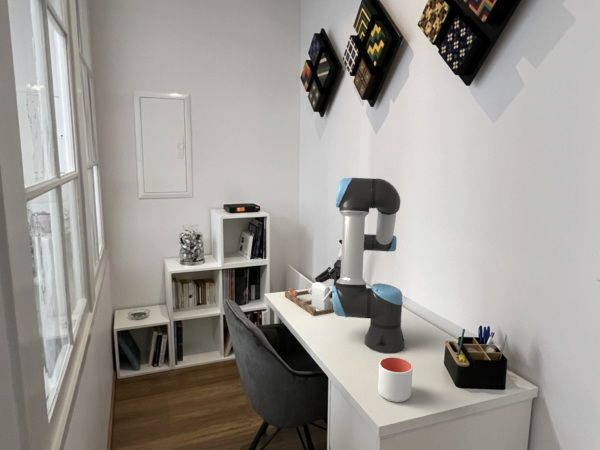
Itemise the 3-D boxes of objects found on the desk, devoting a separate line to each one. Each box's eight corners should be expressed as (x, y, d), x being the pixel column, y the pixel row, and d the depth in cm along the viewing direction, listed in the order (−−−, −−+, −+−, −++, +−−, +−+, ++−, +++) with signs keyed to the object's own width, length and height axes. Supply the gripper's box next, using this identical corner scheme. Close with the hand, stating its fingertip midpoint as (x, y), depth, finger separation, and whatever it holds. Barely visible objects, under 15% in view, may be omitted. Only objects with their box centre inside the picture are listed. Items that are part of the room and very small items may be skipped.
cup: (395, 407, 126) (397, 376, 125) (371, 392, 134) (372, 362, 133) (417, 397, 132) (419, 366, 130) (392, 382, 140) (394, 354, 138)
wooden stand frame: (341, 310, 202) (341, 298, 201) (313, 316, 195) (313, 303, 194) (310, 292, 228) (310, 281, 227) (285, 296, 221) (285, 285, 220)
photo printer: (310, 305, 208) (310, 281, 206) (316, 304, 211) (317, 279, 209) (324, 312, 200) (325, 286, 198) (331, 310, 203) (331, 285, 201)
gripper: (364, 274, 199) (335, 311, 195) (334, 262, 221) (308, 294, 216) (355, 265, 196) (326, 301, 191) (326, 253, 218) (299, 285, 213)
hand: (316, 298), depth 204 cm, fingers open, 13 cm apart
